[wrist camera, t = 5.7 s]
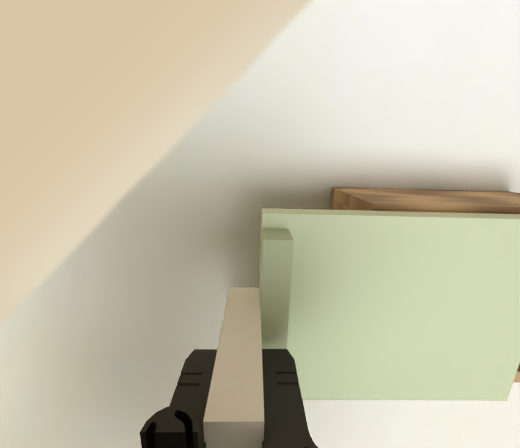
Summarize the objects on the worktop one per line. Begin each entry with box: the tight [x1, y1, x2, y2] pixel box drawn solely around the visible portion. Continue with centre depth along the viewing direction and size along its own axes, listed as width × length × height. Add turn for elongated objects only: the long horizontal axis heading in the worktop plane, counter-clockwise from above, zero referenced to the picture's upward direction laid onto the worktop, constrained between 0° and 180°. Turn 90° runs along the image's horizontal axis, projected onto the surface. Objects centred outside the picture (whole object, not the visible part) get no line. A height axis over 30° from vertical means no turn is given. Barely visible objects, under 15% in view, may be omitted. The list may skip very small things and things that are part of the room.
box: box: [330, 187, 520, 382], centre depth 18 cm, size 14×11×7 cm
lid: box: [259, 208, 520, 401], centre depth 13 cm, size 14×10×3 cm
